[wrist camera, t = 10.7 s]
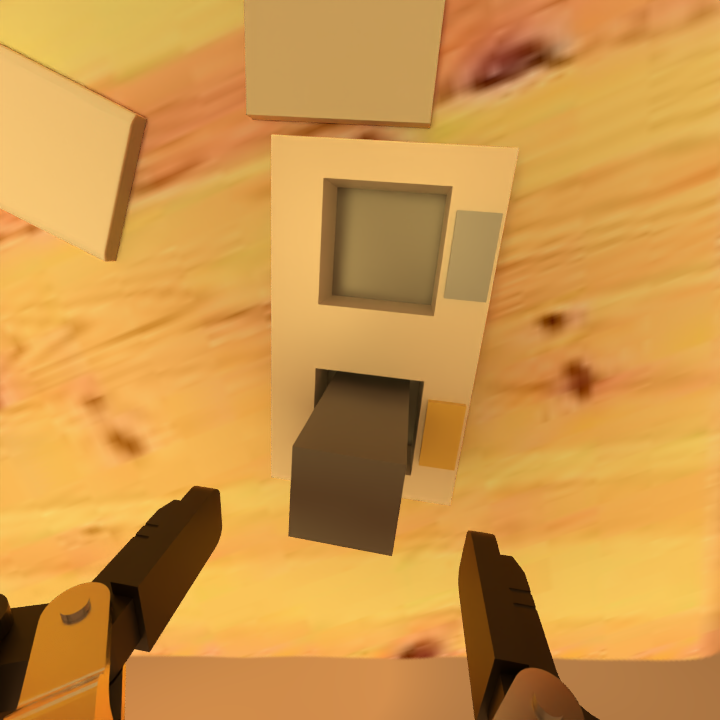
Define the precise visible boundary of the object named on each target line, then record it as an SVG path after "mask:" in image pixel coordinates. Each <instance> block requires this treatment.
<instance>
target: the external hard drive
mask: <svg viewBox="0 0 720 720" xmlns="http://www.w3.org/2000/svg"><path fill="white" fill-rule="evenodd" d="M146 120H147V119H146V118H145V117H143V116H141V115H138V114H136V113H135V112H133V111H131V110H129V109H127V108H125V107H123V106H121V105H119V104H117V103H115V102H113V101H111V100H109V99H107V98H105V97H103V96H101V95H99V94H97V93H95V92H93V91H91V90H89V89H87V88H86V87H84V86H82V85H80V84H78V83H76V82H74V81H72V80H70V79H68V78H66V77H64V76H62V75H60V74H58V73H56V72H54V71H52V70H50V69H48V68H46V67H44V66H43V65H41V64H39V63H37V62H35V61H33V60H31V59H29V58H27V57H25V56H23V55H21V54H19V53H17V52H15V51H13V50H11V49H9V48H7V47H6V46H4V45H2V44H0V209H2V210H4V211H6V212H8V213H10V214H12V215H14V216H16V217H18V218H20V219H22V220H24V221H26V222H28V223H30V224H32V225H34V226H36V227H38V228H40V229H42V230H44V231H46V232H48V233H50V234H51V235H53V236H55V237H57V238H59V239H61V240H64V241H65V242H67V243H69V244H71V245H73V246H76V247H78V248H80V249H82V250H84V251H85V252H87V253H89V254H91V255H93V256H95V257H97V258H99V259H101V260H103V261H116V257H117V253H118V248H119V243H120V239H121V234H122V229H123V225H124V220H125V216H126V211H127V207H128V202H129V198H130V193H131V188H132V184H133V179H134V175H135V170H136V166H137V161H138V156H139V152H140V147H141V143H142V138H143V134H144V129H145V125H146Z"/></svg>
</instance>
